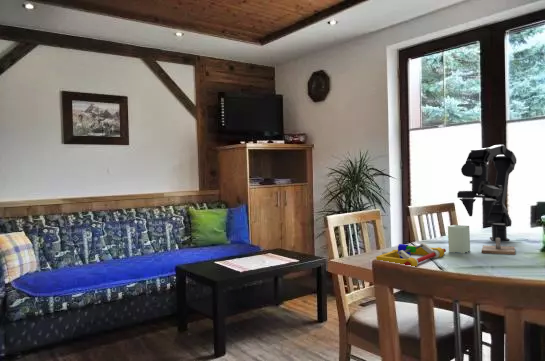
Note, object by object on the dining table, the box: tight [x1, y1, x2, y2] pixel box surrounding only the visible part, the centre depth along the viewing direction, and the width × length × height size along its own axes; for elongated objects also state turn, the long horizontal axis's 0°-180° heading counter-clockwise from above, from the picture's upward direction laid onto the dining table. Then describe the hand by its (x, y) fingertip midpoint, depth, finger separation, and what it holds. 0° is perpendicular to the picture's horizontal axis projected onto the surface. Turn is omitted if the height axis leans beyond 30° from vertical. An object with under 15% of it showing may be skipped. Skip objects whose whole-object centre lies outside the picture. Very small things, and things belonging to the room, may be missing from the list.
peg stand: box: [481, 238, 516, 256], centre depth 162 cm, size 11×11×5 cm
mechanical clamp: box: [375, 242, 447, 266], centre depth 156 cm, size 18×6×30 cm
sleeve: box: [447, 224, 471, 254], centre depth 164 cm, size 5×6×10 cm
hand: (479, 216), depth 173 cm, fingers open, 9 cm apart
